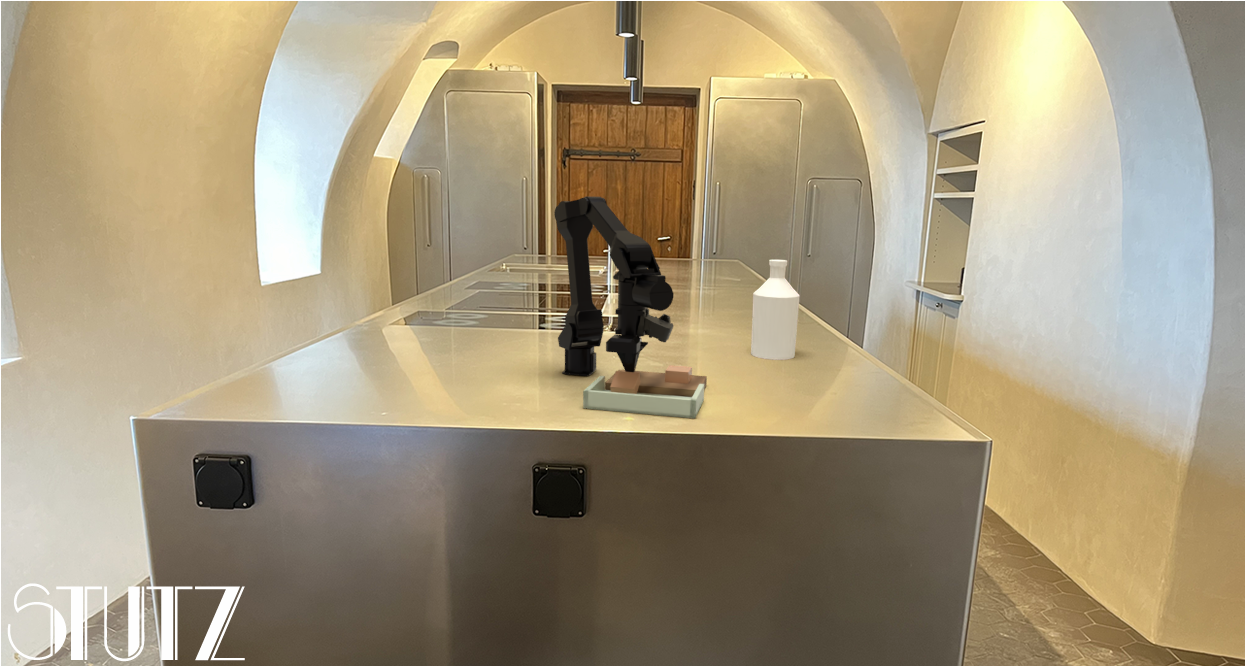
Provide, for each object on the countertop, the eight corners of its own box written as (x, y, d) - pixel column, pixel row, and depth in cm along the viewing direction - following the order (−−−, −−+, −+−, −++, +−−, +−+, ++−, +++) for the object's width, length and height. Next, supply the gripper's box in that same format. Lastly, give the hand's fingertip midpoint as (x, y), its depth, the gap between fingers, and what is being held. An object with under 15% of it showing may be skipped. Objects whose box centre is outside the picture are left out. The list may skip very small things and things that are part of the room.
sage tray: (583, 408, 141) (583, 390, 141) (600, 391, 153) (600, 375, 152) (695, 418, 136) (695, 400, 136) (703, 400, 148) (704, 384, 147)
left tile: (611, 395, 148) (610, 386, 147) (617, 379, 152) (616, 370, 151) (635, 398, 147) (634, 389, 146) (640, 381, 151) (639, 372, 149)
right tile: (664, 381, 154) (665, 370, 154) (669, 376, 159) (669, 365, 159) (688, 383, 153) (688, 372, 153) (691, 378, 158) (692, 366, 157)
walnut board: (605, 391, 153) (605, 382, 153) (618, 378, 165) (619, 369, 164) (699, 399, 149) (699, 390, 148) (706, 385, 160) (706, 376, 160)
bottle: (800, 360, 186) (806, 263, 181) (753, 359, 186) (759, 262, 181) (790, 350, 197) (796, 258, 192) (746, 349, 197) (751, 257, 193)
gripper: (662, 313, 137) (660, 392, 140) (678, 298, 155) (676, 369, 158) (605, 310, 140) (604, 388, 143) (627, 296, 157) (626, 365, 161)
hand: (630, 377), depth 151 cm, fingers closed
